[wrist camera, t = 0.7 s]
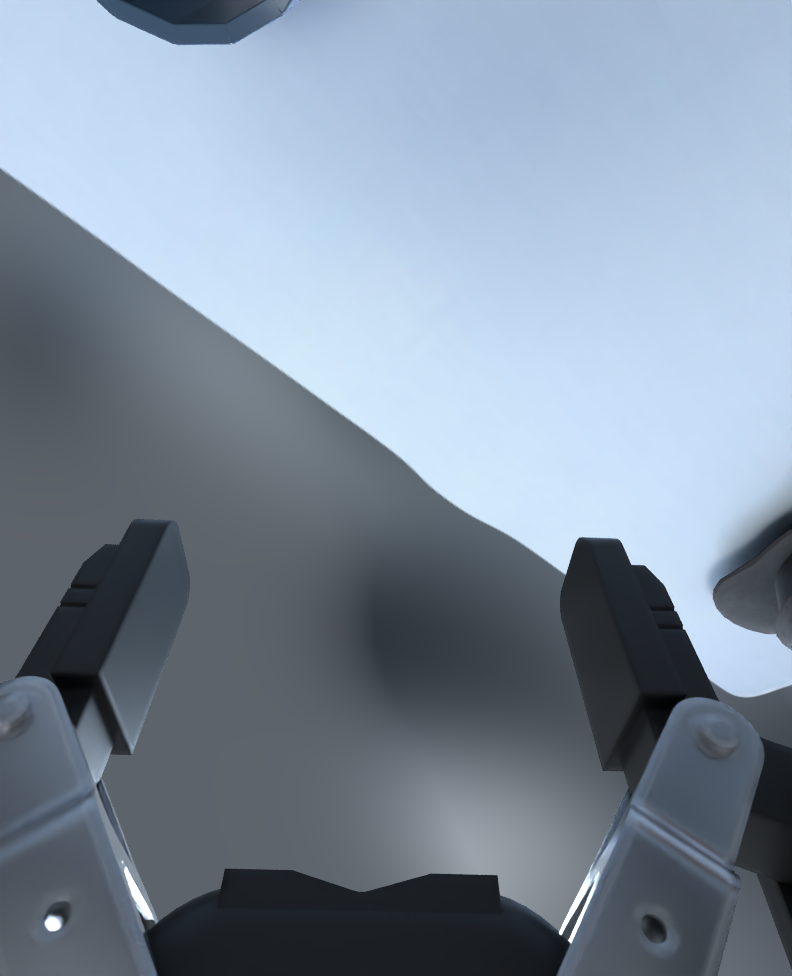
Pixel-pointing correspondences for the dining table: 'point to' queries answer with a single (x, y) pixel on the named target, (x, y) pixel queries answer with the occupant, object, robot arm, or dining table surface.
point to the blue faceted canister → (198, 18)
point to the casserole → (761, 592)
